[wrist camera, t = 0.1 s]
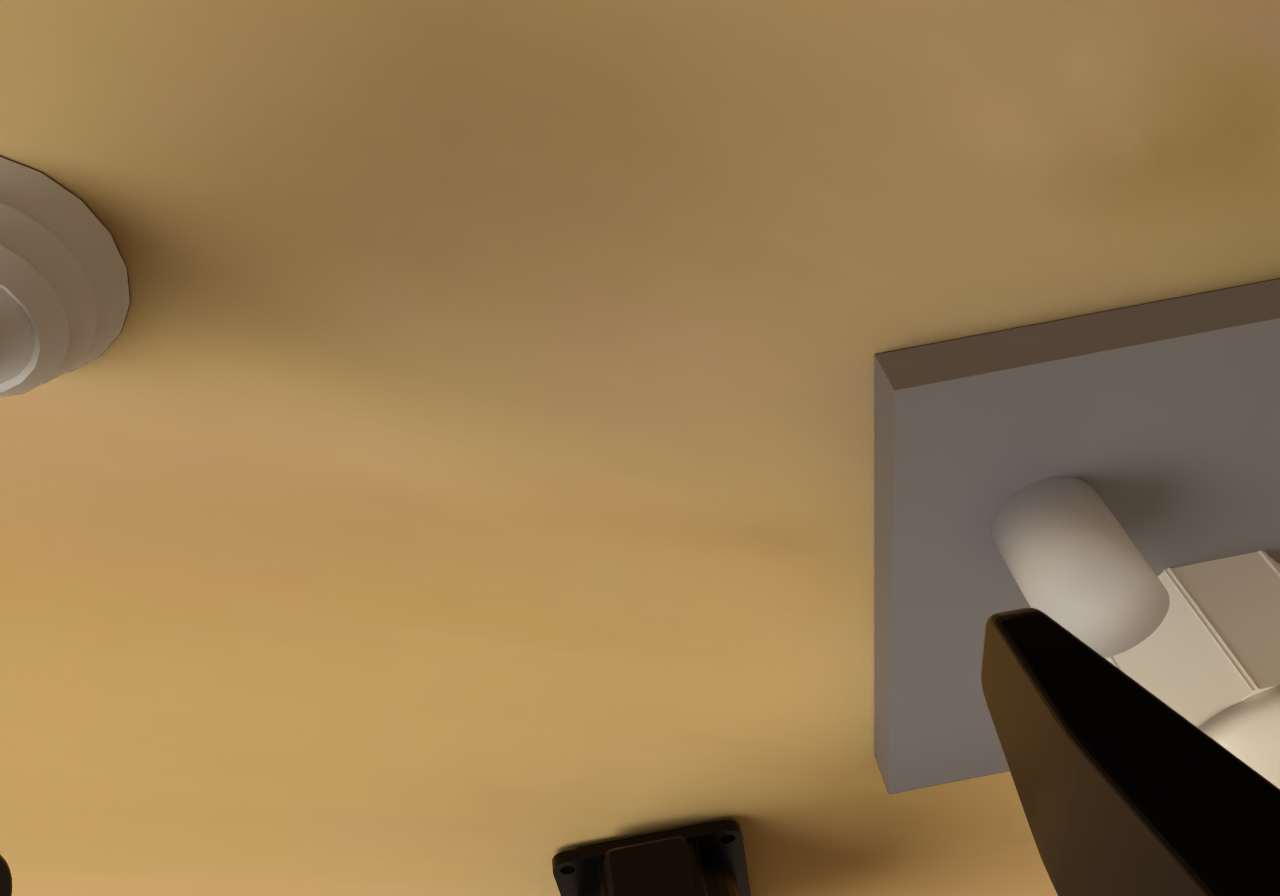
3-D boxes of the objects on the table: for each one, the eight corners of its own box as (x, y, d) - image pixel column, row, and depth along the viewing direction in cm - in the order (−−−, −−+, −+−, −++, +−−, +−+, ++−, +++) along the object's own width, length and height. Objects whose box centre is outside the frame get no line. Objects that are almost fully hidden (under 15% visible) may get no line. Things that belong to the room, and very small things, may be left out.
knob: (1275, 688, 33) (1388, 837, 29) (1068, 728, 33) (1153, 883, 29) (1332, 534, 29) (1472, 683, 25) (1096, 580, 29) (1198, 736, 25)
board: (1287, 675, 36) (1389, 806, 32) (874, 755, 35) (925, 897, 31) (1447, 247, 26) (1624, 360, 22) (875, 354, 25) (949, 489, 22)
